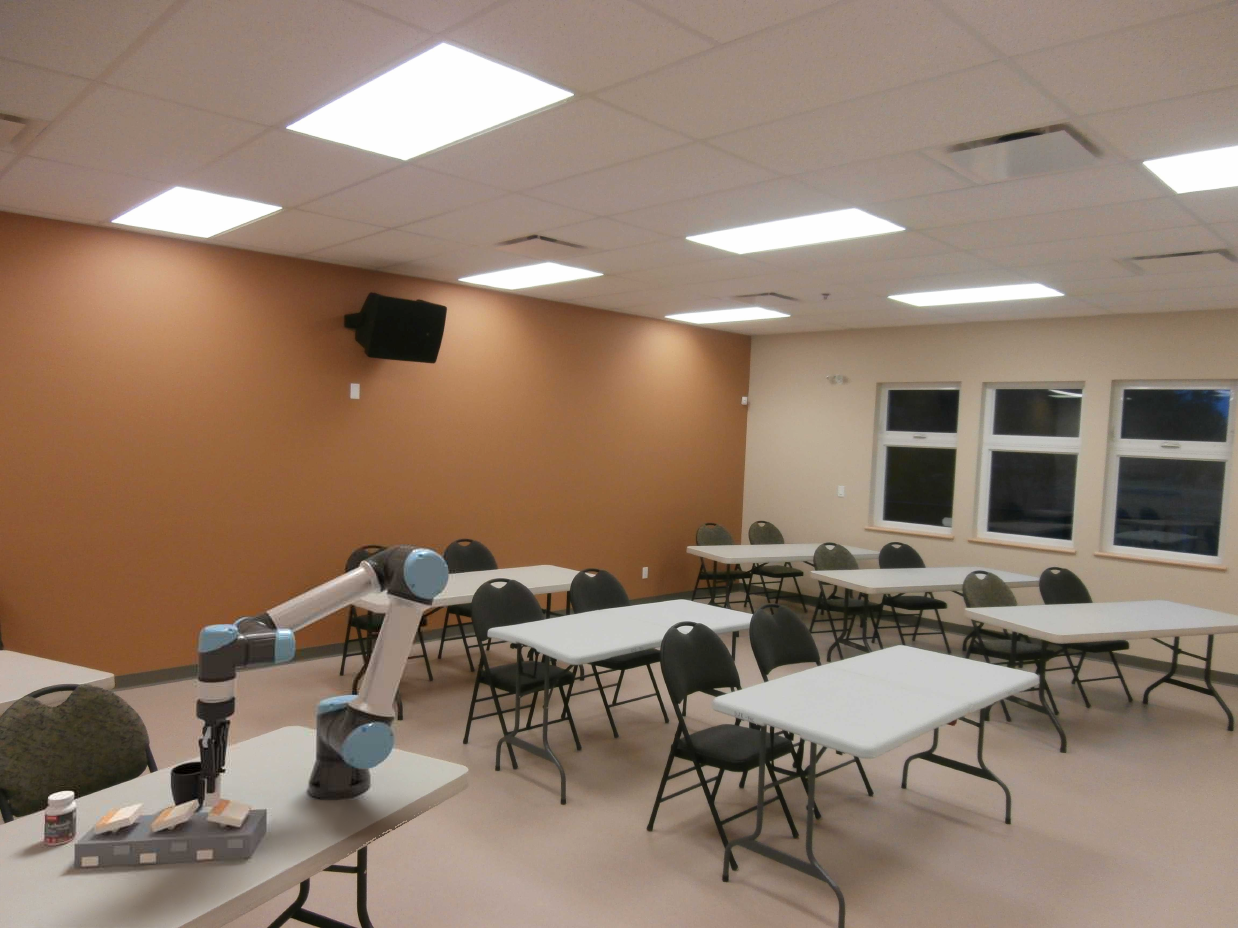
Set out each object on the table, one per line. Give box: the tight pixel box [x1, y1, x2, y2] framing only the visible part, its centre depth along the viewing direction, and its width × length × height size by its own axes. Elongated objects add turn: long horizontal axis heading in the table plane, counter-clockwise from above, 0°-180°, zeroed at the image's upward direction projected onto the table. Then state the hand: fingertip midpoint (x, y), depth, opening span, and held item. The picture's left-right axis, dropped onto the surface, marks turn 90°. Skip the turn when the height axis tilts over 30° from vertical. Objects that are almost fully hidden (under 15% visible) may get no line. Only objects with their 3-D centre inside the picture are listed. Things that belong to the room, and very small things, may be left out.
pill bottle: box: [43, 790, 77, 847], centre depth 172 cm, size 6×6×10 cm
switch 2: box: [151, 799, 199, 832], centre depth 169 cm, size 7×7×2 cm
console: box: [73, 808, 268, 870], centre depth 169 cm, size 34×12×6 cm, turn 99°
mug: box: [170, 761, 205, 811], centre depth 188 cm, size 8×12×10 cm
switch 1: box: [94, 802, 147, 834], centre depth 167 cm, size 7×7×2 cm
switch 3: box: [207, 797, 253, 827], centre depth 171 cm, size 7×7×2 cm
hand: (212, 805), depth 170 cm, fingers closed
